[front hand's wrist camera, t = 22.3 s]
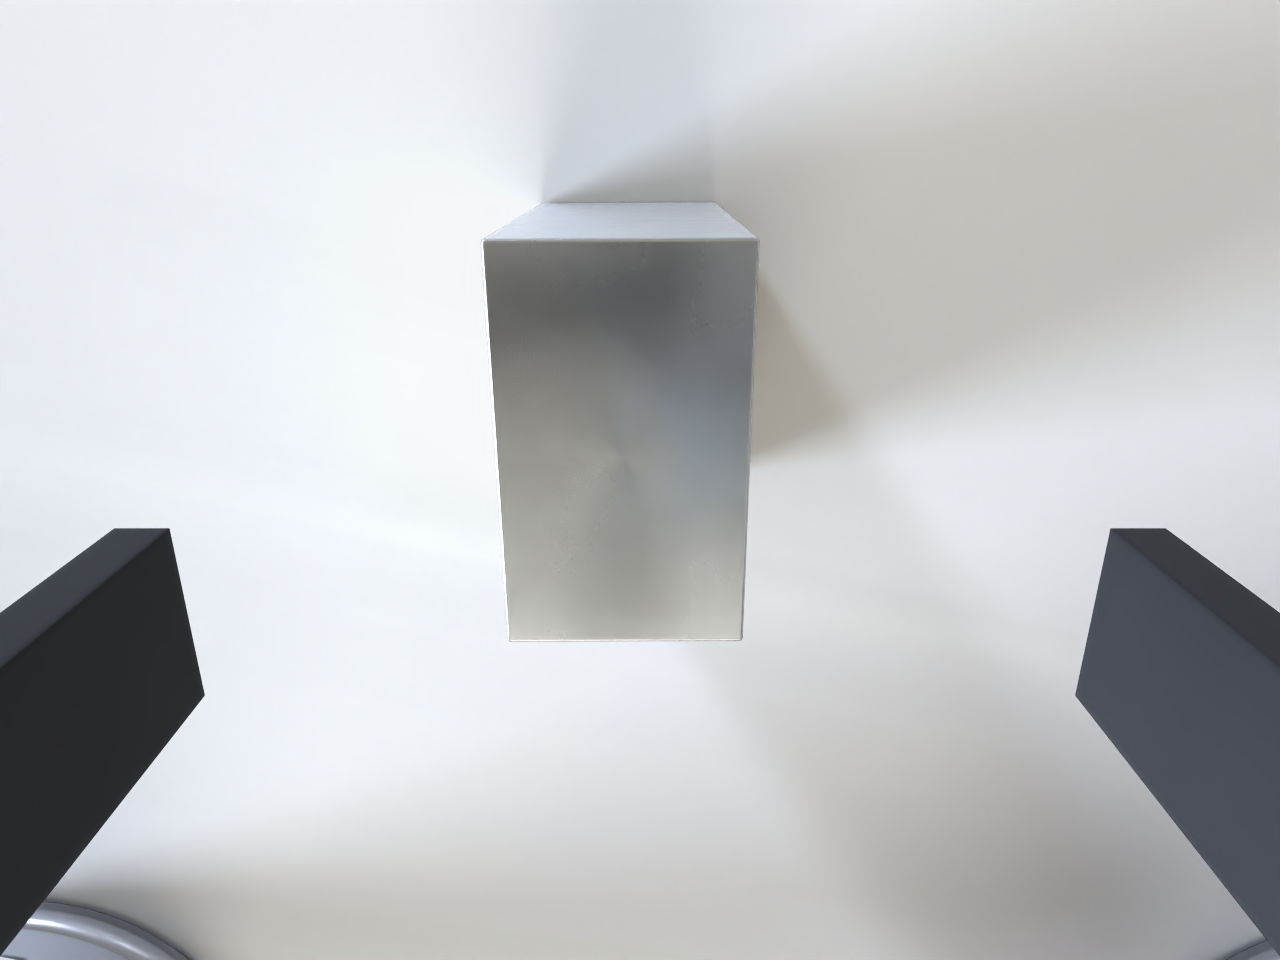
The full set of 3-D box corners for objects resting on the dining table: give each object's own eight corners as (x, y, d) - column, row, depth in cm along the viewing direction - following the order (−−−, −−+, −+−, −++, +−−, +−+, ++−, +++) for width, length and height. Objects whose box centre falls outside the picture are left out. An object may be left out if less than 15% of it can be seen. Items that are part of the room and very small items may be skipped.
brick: (709, 475, 31) (742, 642, 21) (552, 476, 31) (507, 642, 21) (716, 202, 28) (759, 237, 17) (540, 203, 28) (479, 239, 17)
